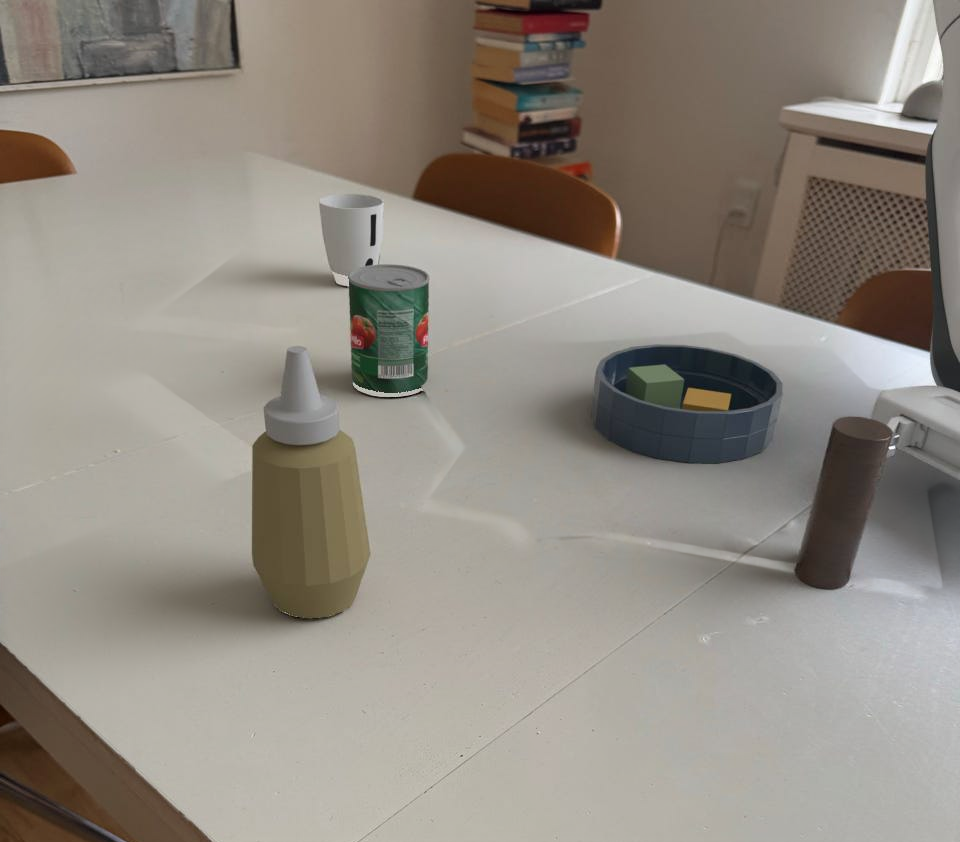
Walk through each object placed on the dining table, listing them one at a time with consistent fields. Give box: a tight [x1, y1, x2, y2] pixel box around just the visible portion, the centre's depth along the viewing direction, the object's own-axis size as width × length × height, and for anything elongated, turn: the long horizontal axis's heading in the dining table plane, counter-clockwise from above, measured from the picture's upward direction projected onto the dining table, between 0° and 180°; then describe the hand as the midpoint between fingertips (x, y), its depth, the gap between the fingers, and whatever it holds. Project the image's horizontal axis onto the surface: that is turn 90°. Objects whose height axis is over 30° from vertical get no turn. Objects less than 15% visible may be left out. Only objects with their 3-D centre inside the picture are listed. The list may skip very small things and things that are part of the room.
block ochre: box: [682, 388, 731, 411], centre depth 92 cm, size 4×4×4 cm
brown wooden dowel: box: [794, 416, 893, 590], centre depth 72 cm, size 4×4×12 cm
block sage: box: [625, 365, 684, 409], centre depth 97 cm, size 4×4×4 cm
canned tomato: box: [348, 263, 430, 393], centre depth 100 cm, size 8×8×11 cm
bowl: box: [590, 343, 784, 464], centre depth 95 cm, size 17×17×6 cm
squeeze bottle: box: [251, 345, 371, 620], centre depth 65 cm, size 8×8×18 cm
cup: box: [318, 193, 385, 276], centre depth 128 cm, size 8×8×10 cm
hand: (921, 470), depth 75 cm, fingers open, 8 cm apart
